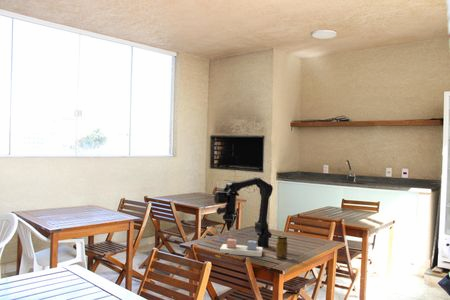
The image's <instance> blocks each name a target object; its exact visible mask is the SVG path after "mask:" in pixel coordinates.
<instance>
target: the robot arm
mask: <svg viewBox="0 0 450 300" xmlns="http://www.w3.org/2000/svg"><path fill="white" fill-rule="evenodd" d="M251 186H256V187H257V188H258V189H259V194H260V205H259V206H260V207H259V213H258V215H259V216H258V220H257V221H255V222H254V230H255V233H256V236H258V238H257V247H263V248H269V247H270V243H269V242H270V238H271V237H272V232H270V230H269V224H268V221H267V220H268V211H269V200H270V197H271V196H272V193H273V190H274V189H273V188H274V186H273V185H272V184H270V183H268V182H266V181H264V180H263V179H262V178H261V177H257V176H256V177H253V178H249V179H245V180H241V181H240V180H239V181H227V183H226V184H225V186H224V188H223V189H222V191H216V192H215V195H214V197H213V199H214V200H213V201H214V203H215V204H225V205H224V206H223V207H222V206H220V207H217V208H216V214H217V215H221V214H223V215H222V219H223V221H224V222H225V224H226V229H227V231H228V232H229V231H230V229H231V228H233V226H234V225H235V221H236V220H237V217H238V215H239V213H238V210H236V209H237V208H236V207H237V196H240V193H238V191H240V190H241V189H244V188H247V187H248V188H249V187H251Z"/></svg>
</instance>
